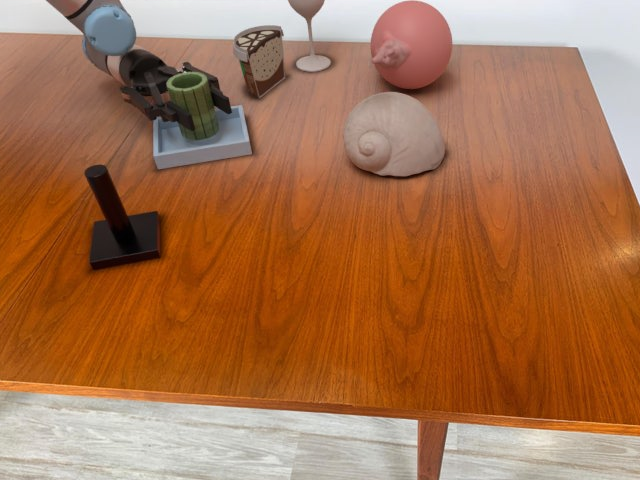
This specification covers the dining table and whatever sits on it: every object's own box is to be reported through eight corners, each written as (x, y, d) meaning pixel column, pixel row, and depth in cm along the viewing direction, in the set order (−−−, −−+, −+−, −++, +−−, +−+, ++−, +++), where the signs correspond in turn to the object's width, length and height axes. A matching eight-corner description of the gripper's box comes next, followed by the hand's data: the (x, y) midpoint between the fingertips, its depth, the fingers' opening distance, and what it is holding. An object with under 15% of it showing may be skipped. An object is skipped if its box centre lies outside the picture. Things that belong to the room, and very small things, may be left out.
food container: (264, 69, 121) (255, 19, 113) (289, 74, 119) (282, 25, 111) (228, 95, 113) (217, 44, 106) (254, 102, 111) (244, 51, 104)
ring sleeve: (182, 143, 97) (166, 93, 91) (181, 123, 102) (166, 74, 95) (220, 137, 98) (208, 87, 92) (218, 118, 103) (205, 69, 96)
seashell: (356, 182, 104) (322, 150, 90) (383, 111, 105) (353, 67, 91) (434, 204, 99) (410, 172, 85) (461, 128, 100) (442, 85, 86)
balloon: (340, 98, 112) (334, 15, 101) (402, 59, 122) (402, -19, 111) (405, 122, 105) (405, 37, 94) (464, 80, 116) (471, -1, 105)
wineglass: (304, 53, 125) (291, -55, 110) (337, 58, 123) (328, -52, 108) (289, 69, 120) (273, -43, 105) (322, 74, 118) (312, -39, 103)
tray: (157, 169, 96) (153, 156, 94) (157, 130, 105) (153, 117, 103) (252, 154, 99) (249, 141, 97) (244, 117, 107) (241, 104, 105)
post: (93, 270, 80) (54, 197, 71) (97, 229, 86) (62, 157, 77) (160, 257, 81) (130, 184, 72) (160, 218, 87) (132, 146, 78)
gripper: (190, 71, 113) (262, 112, 101) (96, 108, 103) (164, 159, 92) (179, 32, 107) (254, 71, 96) (79, 68, 98) (149, 116, 87)
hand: (210, 114), depth 94 cm, fingers closed on ring sleeve, 6 cm apart
